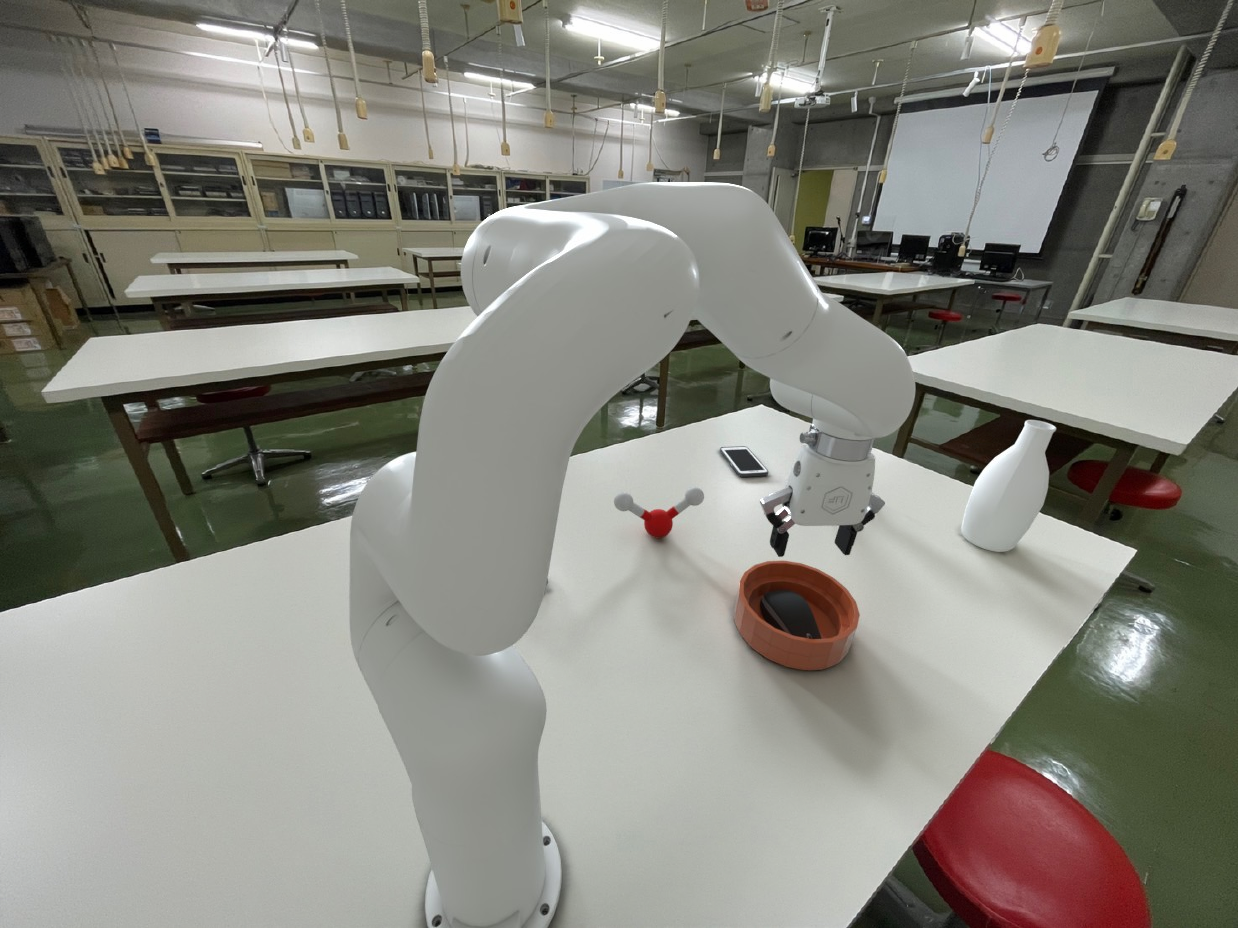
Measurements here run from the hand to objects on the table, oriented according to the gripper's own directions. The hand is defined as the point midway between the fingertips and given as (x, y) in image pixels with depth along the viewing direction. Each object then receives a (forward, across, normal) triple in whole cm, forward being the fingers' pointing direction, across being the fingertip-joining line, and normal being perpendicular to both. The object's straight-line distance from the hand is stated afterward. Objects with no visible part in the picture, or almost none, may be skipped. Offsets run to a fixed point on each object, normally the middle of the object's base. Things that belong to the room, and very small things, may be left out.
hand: (809, 549), depth 71 cm
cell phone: (+15, +10, +54) cm, 57 cm away
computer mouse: (+15, 0, 0) cm, 15 cm away
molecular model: (+15, -16, +25) cm, 34 cm away
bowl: (+15, 0, 0) cm, 15 cm away
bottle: (+15, +50, +20) cm, 56 cm away
